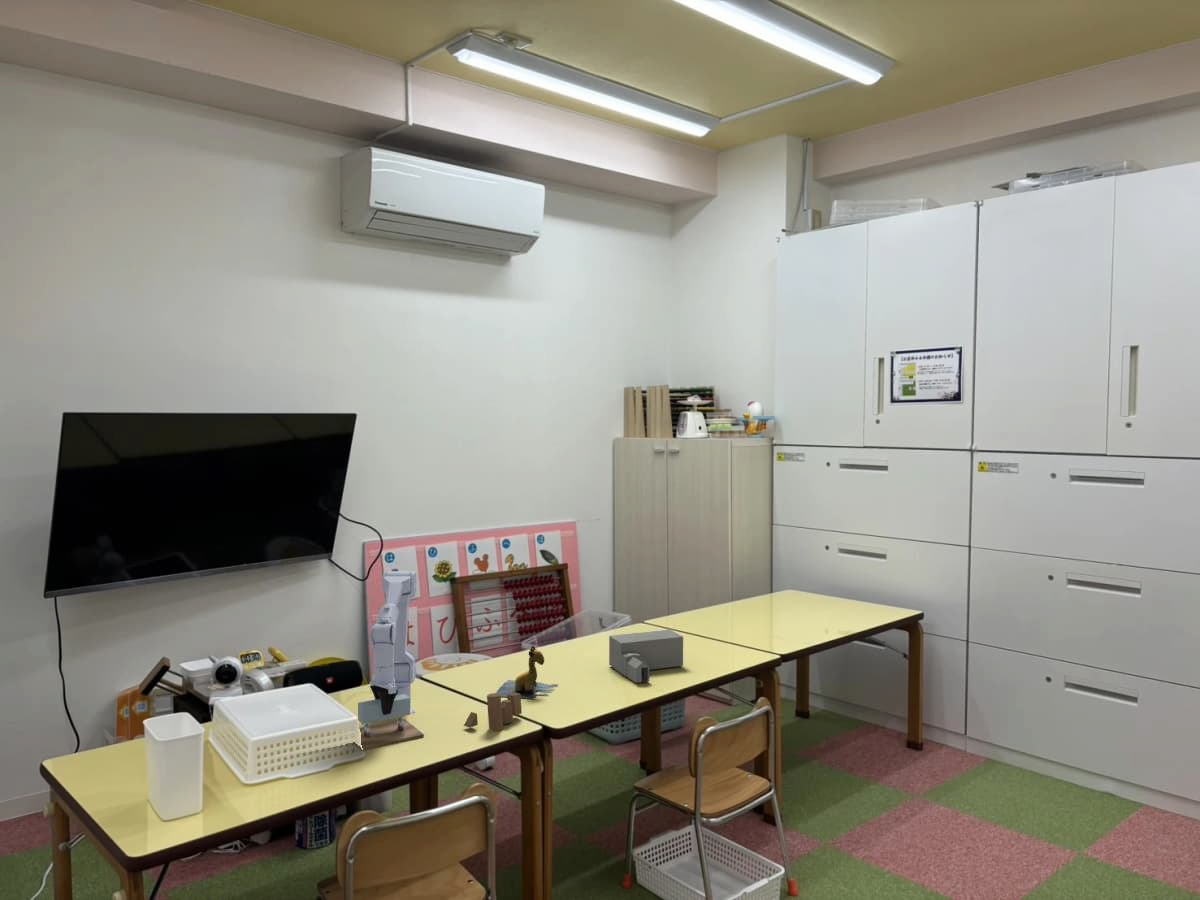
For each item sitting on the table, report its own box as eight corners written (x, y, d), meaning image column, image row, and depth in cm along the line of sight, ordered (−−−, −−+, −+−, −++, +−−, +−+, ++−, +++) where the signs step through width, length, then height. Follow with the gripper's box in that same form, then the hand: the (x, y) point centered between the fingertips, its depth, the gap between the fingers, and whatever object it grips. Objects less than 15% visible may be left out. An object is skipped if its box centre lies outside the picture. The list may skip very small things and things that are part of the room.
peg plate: (345, 734, 252) (345, 720, 252) (404, 722, 262) (404, 708, 262) (362, 751, 240) (361, 736, 240) (423, 738, 250) (423, 724, 250)
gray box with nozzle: (635, 683, 302) (635, 652, 301) (609, 664, 323) (609, 635, 323) (698, 675, 311) (699, 645, 310) (669, 657, 333) (669, 629, 332)
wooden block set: (512, 716, 269) (510, 682, 269) (530, 721, 262) (528, 687, 262) (463, 731, 256) (461, 696, 256) (480, 737, 250) (478, 701, 250)
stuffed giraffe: (545, 702, 282) (545, 653, 281) (492, 698, 286) (492, 650, 285) (558, 686, 298) (558, 640, 297) (508, 683, 302) (507, 637, 301)
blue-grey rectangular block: (405, 710, 256) (404, 694, 256) (410, 714, 253) (409, 697, 253) (358, 720, 249) (357, 702, 248) (362, 724, 245) (362, 706, 245)
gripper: (361, 661, 254) (362, 707, 254) (378, 673, 242) (379, 721, 242) (385, 657, 258) (385, 702, 258) (403, 669, 246) (403, 717, 246)
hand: (384, 711), depth 251 cm, fingers closed on blue-grey rectangular block, 4 cm apart
